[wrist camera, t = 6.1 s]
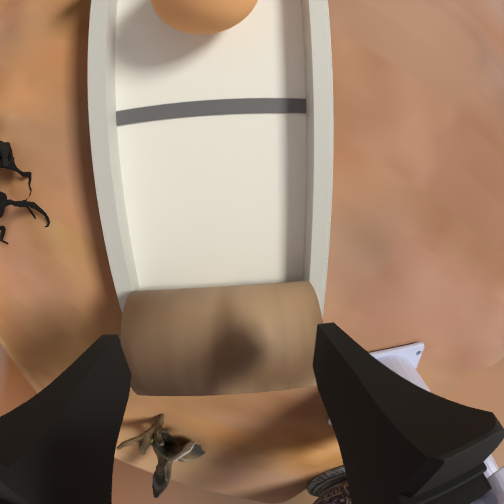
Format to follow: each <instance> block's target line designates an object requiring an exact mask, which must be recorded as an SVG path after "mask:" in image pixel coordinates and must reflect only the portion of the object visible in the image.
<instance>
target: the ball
mask: <svg viewBox="0 0 504 504" xmlns="http://www.w3.org/2000/svg"><path fill="white" fill-rule="evenodd" d="M257 1H258V0H151V3H152V6H153V8H154V10H155V12H156V13H157V15H158V16H159V17H160V18H161V19H162V20H163V21H164V22H165V23H166V24H168V25H169V26H171V27H173V28H174V29H177V30H179V31H182V32H185V33H190V34H199V35H201V34H213V33H218V32H221V31H225V30H227V29H230V28H231V27H233V26H235V25H237V24H238V23H240V22H241V21H243V20H244V19H245V18H246V17H247V16H248V15H249V14H250V13H251V12H252V10H253V9H254V7H255V5H256V4H257Z"/></svg>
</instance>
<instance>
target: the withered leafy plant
mask: <svg viewBox="0 0 504 504" xmlns="http://www.w3.org/2000/svg"><path fill="white" fill-rule="evenodd" d="M163 418H164V414H161V415H160V417H159V419H158V420H157V421H155V424H153V425H152V427H151V428H149V429H148V430H147V431H145V433H143V434H141V435H139V436H137V437H134V438H132V439H129V440H126V441H124V442H122V443H121V444H120V445H119V446H118V447H117V449H118V450H119V449H121V448H123V447H127V446H130V445H132V444H134V443H136V442H140V443H139V448H140V450H141V452H142V455H144V454H145V452H146V451H147V449H148V448H149V446H150V445H152V447H153V450H154V452H155V453H156V455H157V457H158V465H157V466H156V471H155V472H154V474H153V486H152V488H153V494H154V497H155V498H158V497H159V496H160V495H161V494H162V492H163V491H164V490H165V489H166V487H167V486H168V483H169V479H170V477H171V466H172V463H173V462H174V461H176V460H178V461H181V462H190V461H192V460H194V459H196V458H198V457H200V456H201V455H203V454H204V453H205V452H204V451H203V450H202V449H201V446H200V445H197V444H195V441H191V442H189V443H187V444H185V445H184V446H182V447H181V446H179V445H178V444H176V443H175V442H174V441H173V438H172V437H171V436H170V435H169V434H168V432H169V431H170V429H168V428H165V429H163V428H162V425H163V423H164V420H163ZM161 436H162V438H163V440H162V439H161ZM194 444H195V445H194Z"/></svg>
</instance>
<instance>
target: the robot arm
mask: <svg viewBox="0 0 504 504" xmlns="http://www.w3.org/2000/svg"><path fill="white" fill-rule="evenodd" d="M423 349H424V344H423V343H422V342H418V343H414V344H410V345H405V346H401V347H396V348H391V349H386V350H381V351H376V352H371V353H368V352H367V351H366V350H365V349H363V348H362V347H361V346H360V345H359V344H357V343H356V342H355V341H354V340H353V339H352V338H351V337H349V336H348V335H347V334H346V333H345V332H344V331H343V330H342V329H340V328H339V327H338V326H337V325H336V324H335V323H334V322H333V323H325V324H317V332H316V341H315V349H314V357H313V365H312V366H313V370H314V374H315V379H316V383H317V387H318V390H319V393H320V395H321V398H322V401H323V403H324V406H325V409H326V411H327V414H328V416H329V420H328V423H329V425H332V427H333V429H334V432H335V434H336V437H337V440H338V444H339V447H340V451H341V455H342V459H343V464H344V468H345V473H346V477H347V482H348V487H349V493H350V498H351V504H504V466H503V467H502V468H500V469H499V468H498V466H497V464H496V463H495V461H494V459H493V457H492V455H491V453H492V452H493V451H494V450H495V449H496V448H497V447H498V445H499V444H500V443H501V442H502V440H503V438H504V428H503V427H502V425H501V424H500V422H499V421H498V420H497V418H496V417H495V415H494V414H493V413H492V412H488V411H484V410H479V409H475V408H471V407H467V406H464V405H461V404H458V403H455V402H453V401H450V400H447V399H445V398H442V397H440V396H437V395H435V394H433V393H431V392H430V390H429V389H428V387H427V386H426V384H425V382H424V381H423V379H422V378H421V376H420V375H419V373H418V372H417V370H416V367H417V365H418V362H419V360H420V357H421V354H422V352H423ZM131 375H132V374H131V372H130V369H129V366H128V363H127V361H126V358H125V355H124V352H123V349H122V346H121V343H120V340H119V337H118V335H102V336H101V337H100V338H99V339H97V340H96V341H95V342H94V343H93V344H92V345H91V346H90V347H89V348H88V349H87V350H86V351H85V352H84V353H83V354H82V355H81V356H80V357H79V358H78V359H77V360H76V361H75V362H74V363H73V364H72V365H71V366H70V367H68V368H67V369H66V370H65V371H64V372H63V373H62V374H61V375H60V376H58V377H57V378H56V379H55V380H54V381H53V382H52V383H51V384H49V385H48V386H47V387H46V388H44V389H43V390H42V391H41V392H39V393H38V394H37V395H35V396H34V397H33V398H31V399H30V400H28V401H27V402H25V403H23V404H22V405H20V406H19V407H17V408H15V409H14V410H12V411H11V412H9V413H7V414H5V415H3V416H1V417H0V504H111V503H112V502H111V493H112V492H111V491H112V473H113V463H114V454H115V448H116V443H117V439H118V435H119V432H120V428H121V424H122V420H123V416H124V413H125V409H126V405H127V401H128V397H129V391H130V383H131Z"/></svg>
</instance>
